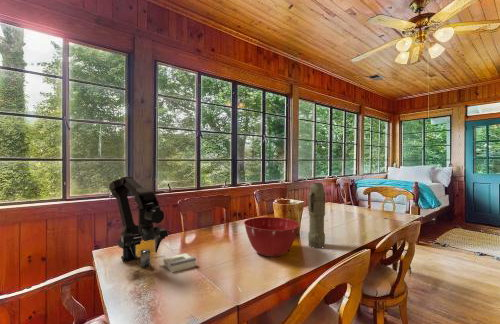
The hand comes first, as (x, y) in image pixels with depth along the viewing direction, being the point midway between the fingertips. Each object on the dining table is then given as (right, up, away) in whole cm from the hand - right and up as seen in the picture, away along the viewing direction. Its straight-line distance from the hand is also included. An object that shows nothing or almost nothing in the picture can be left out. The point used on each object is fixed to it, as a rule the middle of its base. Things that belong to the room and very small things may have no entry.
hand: (145, 254), depth 114 cm
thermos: (+84, -6, +29) cm, 89 cm away
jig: (+15, -5, +2) cm, 16 cm away
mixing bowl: (+58, -6, +19) cm, 61 cm away
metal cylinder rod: (0, -5, 0) cm, 5 cm away
